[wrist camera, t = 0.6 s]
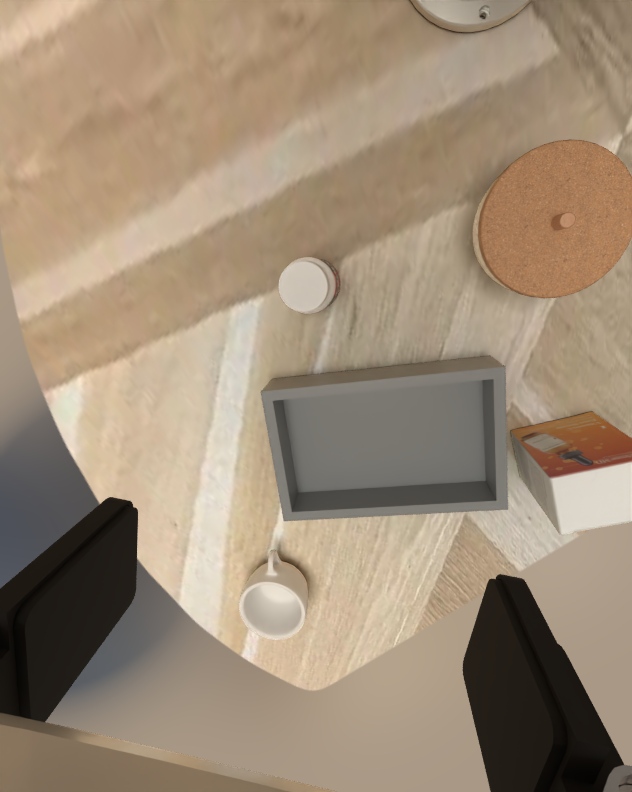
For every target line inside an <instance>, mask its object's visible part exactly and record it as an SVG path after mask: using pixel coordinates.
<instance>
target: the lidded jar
mask: <svg viewBox="0 0 632 792" xmlns="http://www.w3.org/2000/svg"><path fill="white" fill-rule="evenodd" d="M631 237H632V177H631V174H630V173H629V171H628V170H627V168H626V166H625V165H624V164H623V163H622V161H621V160H620V159H619V158H618V157H617V156H616V155H614V154H613V153H612V152H610V151H609V150H607V149H606V148H604V147H602V146H599V145H597V144H595V143H591V142H587V141H582V140H563V141H556V142H552V143H548V144H544V145H542V146H540V147H537V148H535V149H533V150H531V151H529V152H528V153H526V154H525V155H523V156H521V157H520V158H518V159H517V160H516V161H515V162H514V163H512V164H511V165H510V166H509V167H508V168H507V169H506V170H505V171H504V172H503V173H502V174H501V175H500V176H499V177H498V178H497V179H496V181H495V182H494V183H493V184H492V185H491V186H490V188H489V189H488V191H487V192H486V194H485V195H484V197H483V199H482V201H481V203H480V205H479V207H478V209H477V212H476V215H475V219H474V224H473V246H474V250H475V254H476V257H477V259H478V261H479V263H480V265H481V267H482V268H483V270H484V271H485V272H486V274H487V275H488V276H489V277H490V278H492V279H493V280H494V281H495V282H497V283H498V284H500V285H501V286H503V287H505V288H507V289H509V290H512V291H515V292H517V293H519V294H522V295H526V296H530V297H538V298H556V297H561V296H566V295H569V294H572V293H575V292H578V291H580V290H582V289H584V288H586V287H588V286H590V285H592V284H593V283H595V282H596V281H597V280H599V279H600V278H602V277H603V276H604V275H605V274H606V273H607V272H608V271H609V270H610V269H611V268H612V267H613V266H614V265H615V264H616V262H617V261H618V260H619V259H620V257H621V256H622V254H623V253H624V251H625V249H626V248H627V246H628V244H629V241H630V239H631Z"/></svg>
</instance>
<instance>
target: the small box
mask: <svg viewBox="0 0 632 792" xmlns="http://www.w3.org/2000/svg"><path fill="white" fill-rule="evenodd" d="M511 437H512V442H513V447H514V452H515V456H516V461H517V466H518V470H519V475H520V478H521V479H522V480H523V482H524V483H525V485H526V486H527V488H528V489H529V491H530V492H531V493H532V495H533V496H534V498H535V499H536V501H537V502H538V504H539V505H540V507H541V508H542V509H543V511H544V512H545V514H546V515H547V517H548V518H549V520H550V521H551V522H552V524H553V525H554V527H555V528H556V530H557V531H558V533H559V534H560V535H565V534H571V533H574V532H579V531H584V530H589V529H595V528H600V527H606V526H611V525H617V524H623V523H628V522H632V438H631V437H629V436H628V435H626V434H625V433H623V432H622V431H620V430H619V429H617V428H616V427H614V426H613V425H611V424H610V423H608V422H607V421H606V420H604V419H603V418H601V417H600V416H598V415H597V414H595V413H594V412H588V413H584V414H581V415H577V416H573V417H569V418H564V419H560V420H555V421H551V422H546V423H542V424H537V425H533V426H528V427H524V428H519V429H514V430H511Z"/></svg>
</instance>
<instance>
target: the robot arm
mask: <svg viewBox="0 0 632 792" xmlns="http://www.w3.org/2000/svg"><path fill="white" fill-rule="evenodd" d="M531 1H532V0H411V2H412V3H413V5H414V6H415V8H416V9H417V10H418V11H419V12H420V13H421V14H422V15H423V16H424V17H425V18H427V19H428V20H429V21H431V22H433V23H434V24H436V25H438V26H440V27H442V28H445V29H449V30H452V31H456V32H475V31H481V30H486V29H489V28H491V27H494V26H497V25H499V24H502V23H503V22H505V21H506V20H508V19H510V18H511V17H513V16H515V15H516V14H517V13H518V12H520V11H521V10H522V9H523V8H524V7H525V6H526V5H528V4H529V3H530V2H531ZM481 15H483V16H484V17H485V19H481V18H480V17H479V16H481ZM137 532H138V510H137V508H134V507H133V504H132V502H131V501H128V500H123V499H118V498H113V497H109V498H107V499H106V500H105V501H103V502H102V503H101V504H100V505H99V506H97V507H96V508H95V509H94V510H93V511H92V512H90V514H88V515H87V516H86V517H84V518H83V519H82V520H81V521H80V522H79V523H77V524H76V525H75V526H74V527H73V528H71V529H70V530H69V531H68V532H67V533H66V534H65V535H63V536H62V537H61V538H60V539H59V540H57V541H56V542H55V543H54V544H53V545H51V546H50V547H49V548H48V549H47V550H46V551H44V552H43V553H42V554H41V555H40V556H38V557H37V558H36V559H35V560H34V561H32V562H31V563H30V564H29V565H28V566H27V567H25V568H24V569H23V570H22V571H21V572H19V573H18V574H17V575H16V576H15V577H14V578H12V579H11V580H10V581H9V582H8V583H6V584H5V585H4V586H3V587H2V588H1V589H0V792H336V791H332V790H328V789H324V788H320V787H316V786H312V785H308V784H304V783H300V782H295V781H291V780H287V779H283V778H279V777H275V776H271V775H267V774H262V773H259V772H254V771H250V770H246V769H242V768H238V767H234V766H229V765H225V764H221V763H217V762H213V761H209V760H205V759H201V758H196V757H192V756H188V755H184V754H180V753H176V752H171V751H167V750H163V749H159V748H154V747H150V746H146V745H142V744H137V743H133V742H128V741H124V740H120V739H116V738H112V737H108V736H103V735H99V734H94V733H91V732H86V731H82V730H78V729H74V728H69V727H64V726H60V725H55V724H50V723H46V722H45V721H46V720H47V719H48V717H49V716H50V714H51V713H52V712H53V710H54V709H55V708H56V706H57V705H58V703H59V702H60V701H61V699H62V698H63V696H64V695H65V694H66V692H67V691H68V690H69V688H70V687H71V686H72V684H73V683H74V681H75V680H76V679H77V677H78V676H79V675H80V673H81V672H82V670H83V669H84V668H85V666H86V665H87V664H88V662H89V661H90V659H91V658H92V657H93V655H94V654H95V653H96V651H97V649H98V648H99V647H100V646H101V644H102V643H103V642H104V640H105V639H106V637H107V636H108V635H109V633H110V632H111V631H112V629H113V628H114V626H115V625H116V624H117V622H118V621H119V620H120V618H121V617H122V615H123V614H124V613H125V611H126V610H127V609H128V607H129V606H130V604H131V603H132V600H133V599H134V596H135V592H136V571H137ZM463 676H464V681H465V685H466V689H467V693H468V698H469V702H470V706H471V710H472V715H473V719H474V723H475V727H476V731H477V736H478V740H479V744H480V748H481V752H482V756H483V761H484V765H485V769H486V773H487V778H488V782H489V786H490V790H491V792H632V766H627V765H624V763H623V761H622V759H621V757H620V755H619V754H618V752H617V750H616V748H615V746H614V744H613V742H612V740H611V738H610V737H609V735H608V733H607V731H606V729H605V727H604V725H603V723H602V721H601V719H600V717H599V716H598V714H597V712H596V710H595V708H594V706H593V704H592V702H591V700H590V699H589V696H588V694H587V693H586V691H585V689H584V687H583V685H582V683H581V681H580V679H579V677H578V675H577V674H576V672H575V670H574V668H573V666H572V664H571V662H570V660H569V658H568V657H567V655H566V653H565V651H564V650H563V648H562V647H561V646H560V645H559V644H557V642H556V640H555V638H554V636H553V634H552V632H551V630H550V629H549V626H548V624H547V622H546V620H545V619H544V617H543V615H542V613H541V611H540V609H539V607H538V605H537V603H536V601H535V599H534V597H533V595H532V593H531V591H530V589H529V588H528V586H527V584H526V582H525V581H524V580H523V579H522V578H517V577H512V576H507V575H502V574H499V575H498V576H497V577H496V579H490V580H489V581H488V583H487V587H486V590H485V593H484V596H483V599H482V603H481V606H480V609H479V612H478V615H477V619H476V622H475V625H474V628H473V632H472V635H471V638H470V641H469V644H468V648H467V651H466V654H465V657H464V661H463Z"/></svg>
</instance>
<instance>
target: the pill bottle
mask: <svg viewBox="0 0 632 792" xmlns="http://www.w3.org/2000/svg"><path fill="white" fill-rule="evenodd" d="M278 287H279V294H280V296H281V299H282V300H283V302H284V303H285V304H286V305H287V306H288V307H289V308H291V309H292V310H294V311H297V312H299V313H303V314H313V313H317V312H319V311H321V310H323V309H325V308H326V307H327V306H329V305H330V304H331V303H332V302H333V301H334V300H335V299H336V297H337V296H338V293H339V290H340V278H339V274H338V272H337V270H336V269H335V268H334V266H333V265H331V264H330V263H329V262H327V261H325V260H322V259H318V258H313V257H303V258H299V259H297V260H295V261H293V262H292V263H290V264H289V265H288V266H287V267H286V268H285V269H284V271H283V272H282V274H281V276H280V279H279V285H278Z"/></svg>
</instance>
